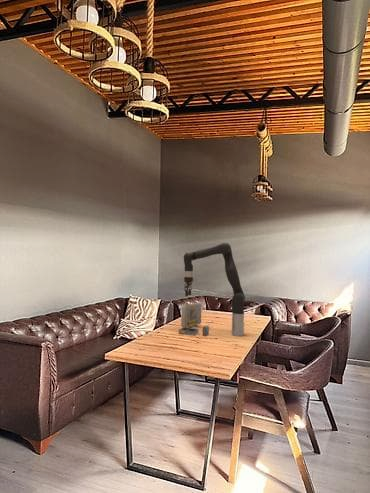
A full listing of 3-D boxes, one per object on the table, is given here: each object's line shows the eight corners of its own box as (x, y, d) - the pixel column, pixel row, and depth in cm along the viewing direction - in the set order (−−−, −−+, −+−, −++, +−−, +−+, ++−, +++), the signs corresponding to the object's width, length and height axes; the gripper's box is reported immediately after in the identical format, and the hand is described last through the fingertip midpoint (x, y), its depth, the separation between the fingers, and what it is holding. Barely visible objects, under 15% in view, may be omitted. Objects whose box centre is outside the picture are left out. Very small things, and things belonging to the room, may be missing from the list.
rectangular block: (208, 334, 310) (208, 325, 310) (206, 336, 304) (206, 327, 304) (204, 334, 311) (205, 325, 311) (202, 335, 305) (202, 326, 305)
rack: (198, 333, 314) (198, 329, 314) (193, 335, 305) (193, 331, 305) (183, 331, 319) (183, 327, 319) (178, 333, 310) (178, 329, 310)
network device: (195, 324, 347) (195, 302, 347) (203, 326, 342) (204, 303, 342) (178, 329, 326) (179, 305, 326) (187, 330, 321) (188, 306, 321)
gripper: (190, 277, 320) (190, 296, 320) (195, 276, 333) (194, 295, 333) (181, 276, 322) (181, 296, 322) (186, 275, 336) (186, 294, 336)
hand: (188, 295), depth 328 cm, fingers open, 8 cm apart
